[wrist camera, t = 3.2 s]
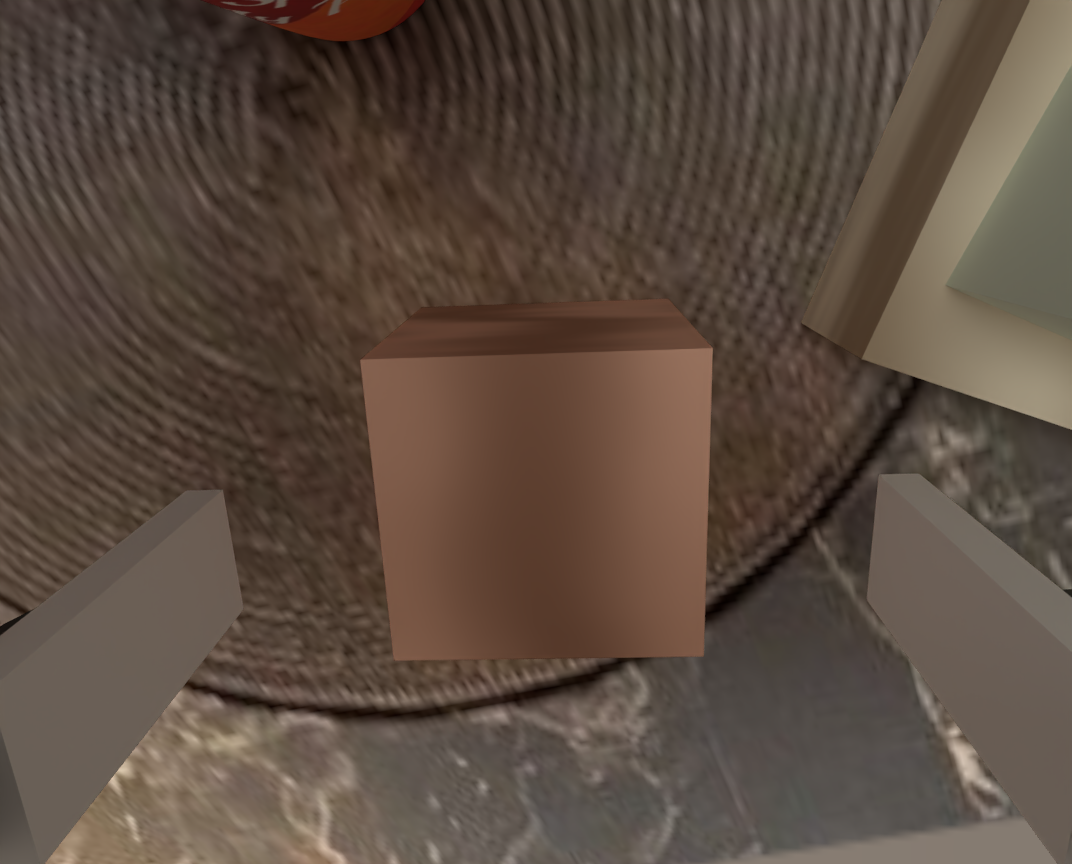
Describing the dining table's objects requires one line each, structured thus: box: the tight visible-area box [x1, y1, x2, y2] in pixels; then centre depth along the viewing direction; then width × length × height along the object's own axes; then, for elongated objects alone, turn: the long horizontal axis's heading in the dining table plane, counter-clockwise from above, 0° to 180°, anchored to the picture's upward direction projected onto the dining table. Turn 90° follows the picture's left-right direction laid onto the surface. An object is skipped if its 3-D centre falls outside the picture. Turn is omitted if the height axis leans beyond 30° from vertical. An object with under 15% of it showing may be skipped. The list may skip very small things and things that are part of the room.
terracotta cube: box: [360, 299, 713, 661], centre depth 20 cm, size 7×7×7 cm
